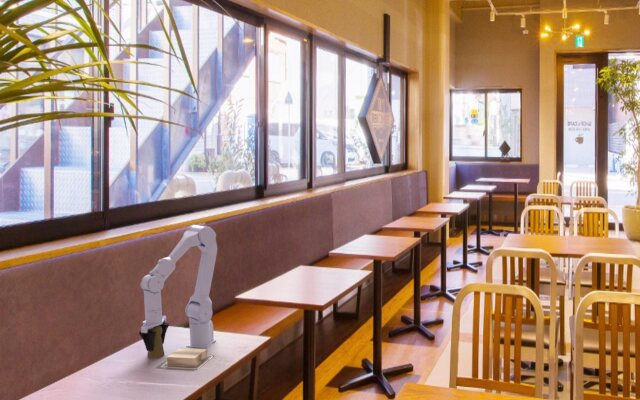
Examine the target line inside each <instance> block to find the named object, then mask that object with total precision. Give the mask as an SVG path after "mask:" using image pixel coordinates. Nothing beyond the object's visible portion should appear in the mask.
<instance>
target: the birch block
mask: <svg viewBox="0 0 640 400" xmlns="http://www.w3.org/2000/svg"><path fill="white" fill-rule="evenodd" d="M207 355H208V349H207V348H198V347H179V348H178V349H176V350H174V351H173V352H172V353H171V354H169V355H167V356H166V360H167V366H181V367H196V366H197V365H199V364H200V363H201V362H202V361H204V360H205V359H206V358H207Z"/></svg>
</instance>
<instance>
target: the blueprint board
mask: <svg viewBox="0 0 640 400" xmlns="http://www.w3.org/2000/svg"><path fill="white" fill-rule="evenodd" d="M214 356H215V355H214V354H207V358H206V359H205V360H204V361H202V362H201V363H200V364H199V365H197V366H196V367H181V366H167V359H166V360H164V361H163V362H161V363H160V364H159V365H158V366H156V367H155V369H156V370H157V369H161V370H176V371H177V370H178V371H192V372H195V370H199V369H200V368H201V367H203V366H204V365H205V364H206V363H207V362H209V361H211V360H212V358H213V357H214Z"/></svg>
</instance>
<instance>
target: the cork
mask: <svg viewBox="0 0 640 400" xmlns="http://www.w3.org/2000/svg"><path fill="white" fill-rule="evenodd" d="M151 330H152V331H153V332H156V334H155V338H154V348H153V351H147V358H148V359H160V358H163V357H165V350H164V344H163V343H162V338H161V334H162V327H161V326H159V325H158V326H155V327H153V328H152V329H151Z"/></svg>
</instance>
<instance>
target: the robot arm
mask: <svg viewBox="0 0 640 400" xmlns="http://www.w3.org/2000/svg"><path fill="white" fill-rule="evenodd" d="M216 238H217V233H216V232H215V230H214V229H213V228H212V227H211V226H206V225H205V226H204V225H199V224H191V225H190V226H189V227H188V228H187V229H186V230H185V231H184V233H183V236H182V237H181V239H180V240H179V242H178V243H177V244H176V245H175V247H174V248H173V250H172V251H171V252H170V253H169V255H168V256H167V257H162V258H160V259H158V261H157V264H156V265H155V266H154V267H153V269H152V270H150V271H149V272H148V273H149V274H147V275H146V274H145V275H144V276H143V277H142V279H141V282H139V283H140V284H139V287H140V288H141V289H142V291H143V300H144V301H143V302H144V304H143V305H144V318H145V319H144V320H143V321H142V324H143V325H141V327H140V331H139V332H138V334H139V336H140V338H141V339H142V341H143V343H144V346H145V350H146V351H147V352H148V351H153V348H154V338H155V334H156V332H153V331H152V330H151V329H152V328H153V327H155V326H158V325H159V326H161V327H162V334H161V338H162V343H163V345H164V343H165V339H166V333H167V330H168V328H169V326H170V323H169V322H167V316H166V315H163V309H162V290H163V289H164V286H165V282H166V280H167V279H168V277H169V276H170V275H171V274H172V273H173V272H174V271H175V269H176V263H177V262H178V261H179V260H180V259H181V258H182V257H183V256H184V255H185V254H186V252H187V251H189V249H190V248H192V247H197V248H198V249H199V250H200V252H201V254H200V261H199V266H198V270H197V271H198V272H197V276H196V281H195V288H194V292H193V294H192V295H191V296H190V297H189V301H188V303H187V304H186V306H185V309H184V310H185V315H186V317H187V318H188V321H189V323H188V324H189V340H190V343H188V344H186V346H185V348H197V349H207V348H208V347H209V346H210V345H212V344H214V343H215V342H216V341H217V339H215V338H214V323H213V321H212V320H211V319H212V317H213V302H212V300H211V297H210V294H211V293H210V292H211V287H212V283H213V282H212V281H213V276H214V270H215V264H216V260H217V255H218V243H217V239H216Z"/></svg>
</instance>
